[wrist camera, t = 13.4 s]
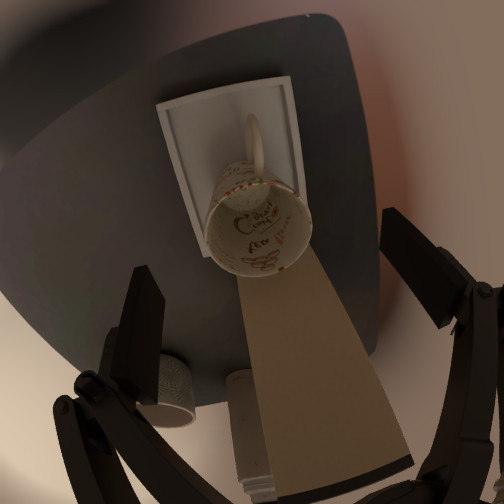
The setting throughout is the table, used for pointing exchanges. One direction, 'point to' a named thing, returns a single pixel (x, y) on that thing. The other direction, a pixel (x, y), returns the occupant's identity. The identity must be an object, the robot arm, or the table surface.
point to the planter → (172, 396)
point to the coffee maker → (289, 309)
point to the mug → (255, 216)
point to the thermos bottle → (249, 438)
